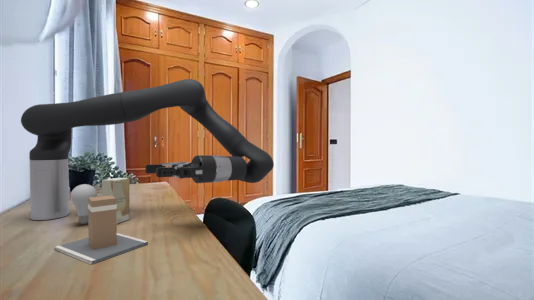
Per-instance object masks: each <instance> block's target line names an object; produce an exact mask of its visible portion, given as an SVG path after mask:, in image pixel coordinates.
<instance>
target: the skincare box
mask: <svg viewBox="0 0 534 300" xmlns="http://www.w3.org/2000/svg"><path fill="white" fill-rule="evenodd" d="M130 180H131V179H130V178H127V177H114V178H113V177H112V178H107V179H102V180H101V196H109V195H112V196H113V197H115V198H116V204H117V209H116V220H117V224H120V223H122V222H126V221H128V220H129V221H130V189H131V188H130V185H131V184H130Z"/></svg>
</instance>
